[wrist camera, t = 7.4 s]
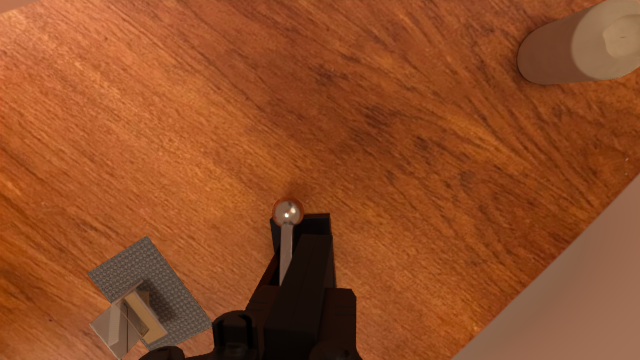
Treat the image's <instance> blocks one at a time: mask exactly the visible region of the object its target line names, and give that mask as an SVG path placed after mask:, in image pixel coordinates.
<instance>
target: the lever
mask: <svg viewBox="0 0 640 360" xmlns="http://www.w3.org/2000/svg"><path fill="white" fill-rule="evenodd" d="M272 216H273V219H274V221H275V223H276V224H277V225H278V226H280V227H281V252H280V283H279V286H281V283H282V281H283V278H284V276H285V273H286V271H287V269H288V266H289V264H290V261H291V259H292V257H293V254H294V227H296V226H298V225H299V224H300V223H301V222H302V220H303V218H304V207H303V205H302V203H301V202H300V201H299V200H298V199H296V198H294V197H290V196H287V197H283V198H280V199H279V200H278V201H277V202H276V203H275V204H274V206H273V209H272Z"/></svg>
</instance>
